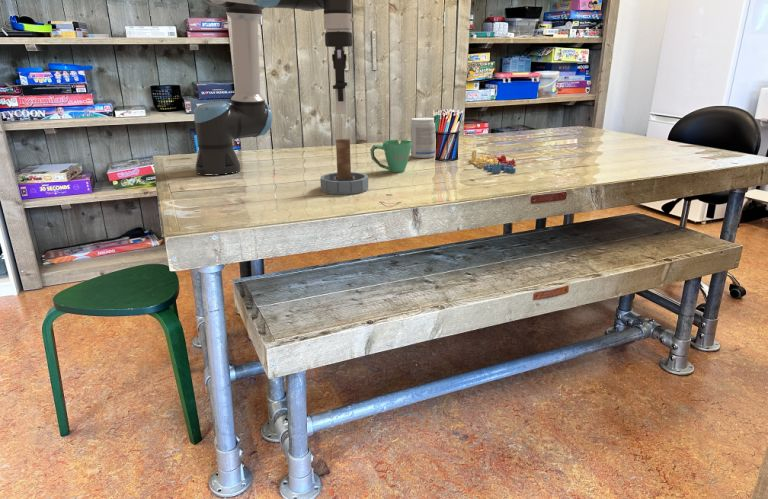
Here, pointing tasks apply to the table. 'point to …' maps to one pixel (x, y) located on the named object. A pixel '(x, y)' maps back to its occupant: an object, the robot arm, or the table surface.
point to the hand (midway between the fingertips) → (341, 111)
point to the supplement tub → (422, 137)
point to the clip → (344, 179)
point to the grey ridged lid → (344, 184)
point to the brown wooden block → (343, 158)
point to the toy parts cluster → (493, 163)
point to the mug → (394, 154)
